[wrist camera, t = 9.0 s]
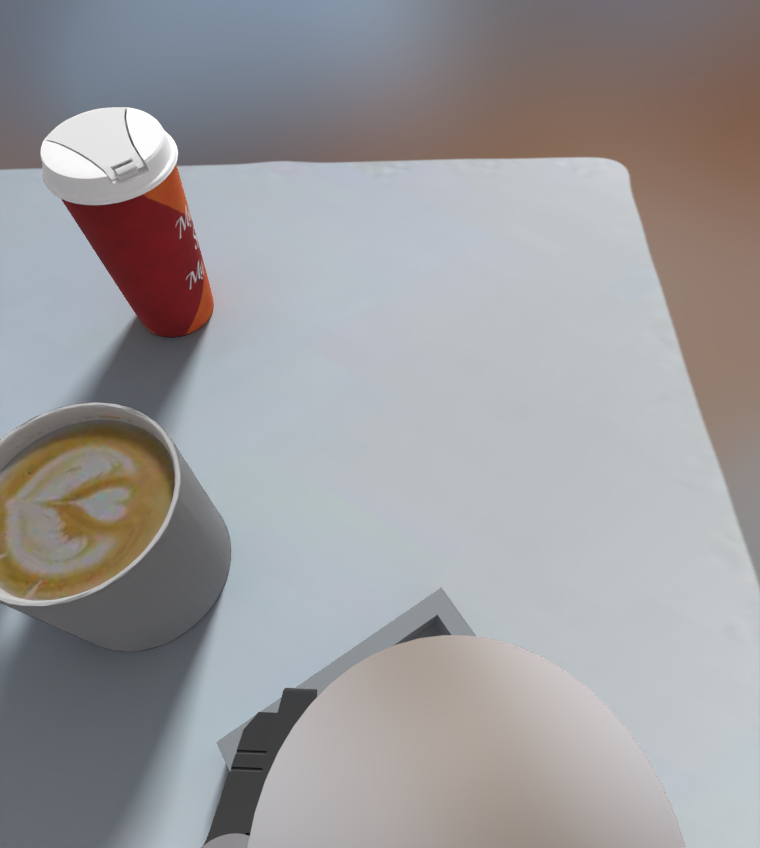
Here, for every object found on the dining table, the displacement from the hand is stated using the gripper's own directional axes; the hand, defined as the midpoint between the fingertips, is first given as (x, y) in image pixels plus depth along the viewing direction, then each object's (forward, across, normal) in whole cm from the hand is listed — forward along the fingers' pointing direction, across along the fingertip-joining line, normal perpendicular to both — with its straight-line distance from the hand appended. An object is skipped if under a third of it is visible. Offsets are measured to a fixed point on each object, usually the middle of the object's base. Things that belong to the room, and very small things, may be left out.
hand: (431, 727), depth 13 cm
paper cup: (+34, -18, +7) cm, 39 cm away
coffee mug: (+21, -17, -6) cm, 28 cm away
